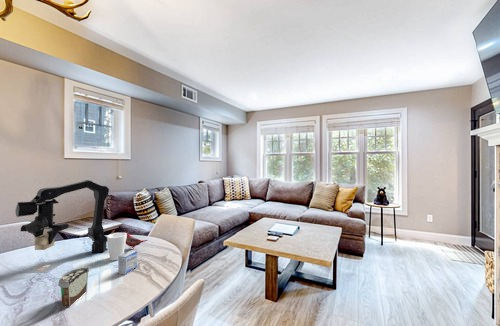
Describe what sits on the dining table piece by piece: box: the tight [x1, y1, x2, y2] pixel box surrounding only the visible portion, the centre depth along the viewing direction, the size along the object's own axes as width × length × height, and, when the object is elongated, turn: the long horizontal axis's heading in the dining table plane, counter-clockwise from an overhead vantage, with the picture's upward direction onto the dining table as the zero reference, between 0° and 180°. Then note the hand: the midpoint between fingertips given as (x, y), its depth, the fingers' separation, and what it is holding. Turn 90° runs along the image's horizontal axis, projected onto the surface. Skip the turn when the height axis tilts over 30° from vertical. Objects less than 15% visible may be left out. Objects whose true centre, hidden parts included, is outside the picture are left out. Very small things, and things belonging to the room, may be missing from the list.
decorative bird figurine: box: [125, 232, 148, 249], centre depth 136 cm, size 3×18×10 cm, turn 82°
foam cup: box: [106, 232, 127, 262], centre depth 123 cm, size 10×9×13 cm
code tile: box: [21, 261, 66, 274], centre depth 110 cm, size 12×12×1 cm
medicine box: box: [117, 249, 138, 275], centre depth 109 cm, size 8×4×9 cm, turn 168°
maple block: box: [34, 233, 56, 251], centre depth 111 cm, size 4×6×6 cm
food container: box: [57, 266, 90, 308], centre depth 85 cm, size 12×6×10 cm, turn 5°
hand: (44, 243), depth 111 cm, fingers closed on maple block, 4 cm apart
